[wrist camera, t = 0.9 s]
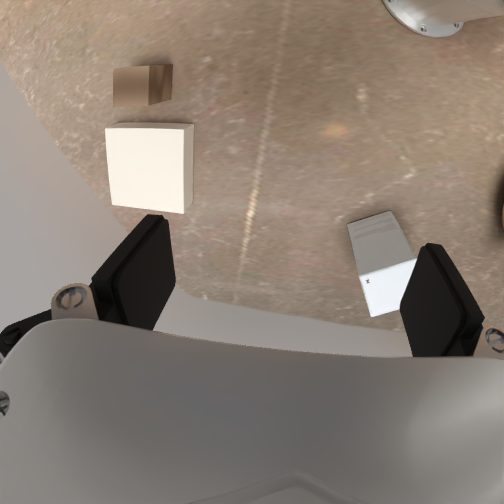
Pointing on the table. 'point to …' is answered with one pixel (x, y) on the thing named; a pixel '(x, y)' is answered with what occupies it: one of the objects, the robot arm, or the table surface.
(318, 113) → the table surface
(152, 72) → the walnut block
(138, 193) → the base
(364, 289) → the supplement box
